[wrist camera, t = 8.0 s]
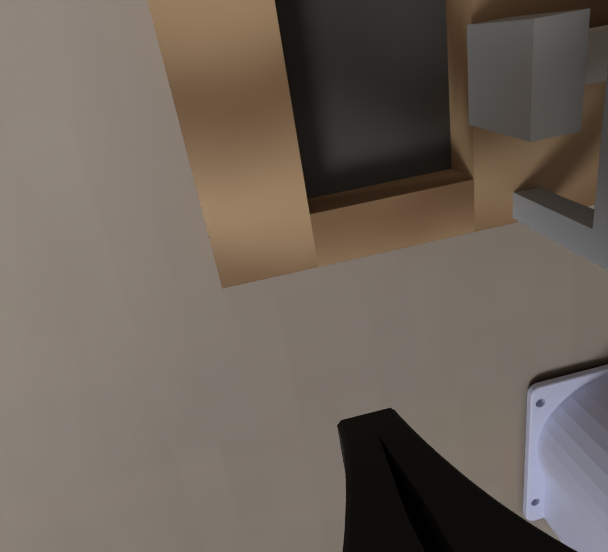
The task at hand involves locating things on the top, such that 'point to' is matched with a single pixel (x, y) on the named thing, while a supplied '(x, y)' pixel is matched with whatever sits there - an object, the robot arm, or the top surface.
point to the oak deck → (351, 127)
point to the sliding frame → (533, 72)
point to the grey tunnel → (571, 211)
